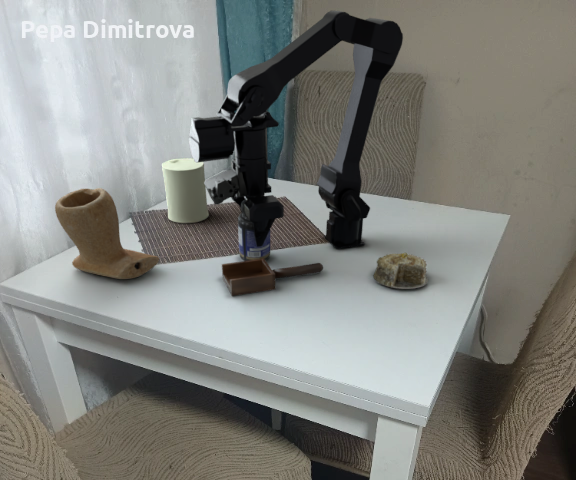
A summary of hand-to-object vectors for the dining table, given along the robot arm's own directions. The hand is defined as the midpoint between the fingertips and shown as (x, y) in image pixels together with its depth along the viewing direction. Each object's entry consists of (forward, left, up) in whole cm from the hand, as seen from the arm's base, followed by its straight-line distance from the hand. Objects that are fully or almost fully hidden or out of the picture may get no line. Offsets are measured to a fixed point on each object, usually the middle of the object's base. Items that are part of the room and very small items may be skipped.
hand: (254, 239), depth 110 cm
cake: (-23, +17, -4) cm, 29 cm away
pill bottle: (0, -1, -4) cm, 4 cm away
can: (+8, -27, -4) cm, 28 cm away
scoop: (-1, +10, -4) cm, 11 cm away
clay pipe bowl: (+28, -3, -4) cm, 28 cm away
